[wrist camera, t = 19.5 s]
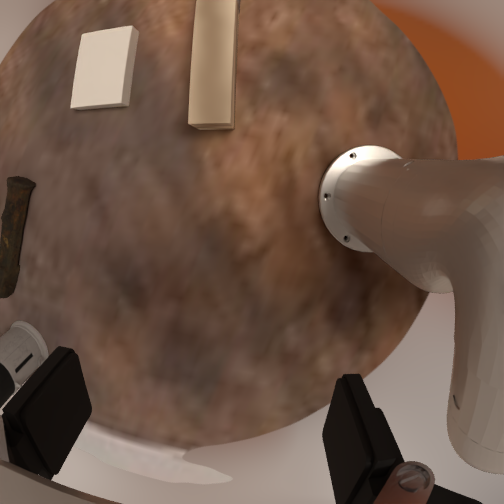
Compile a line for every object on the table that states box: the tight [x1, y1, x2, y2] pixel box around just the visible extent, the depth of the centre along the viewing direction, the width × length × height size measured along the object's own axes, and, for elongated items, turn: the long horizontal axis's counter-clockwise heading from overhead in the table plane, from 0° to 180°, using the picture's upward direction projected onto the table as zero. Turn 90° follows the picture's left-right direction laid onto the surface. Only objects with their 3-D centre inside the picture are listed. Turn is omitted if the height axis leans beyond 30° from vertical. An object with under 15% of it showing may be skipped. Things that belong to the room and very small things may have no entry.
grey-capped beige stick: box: [188, 0, 240, 130], centre depth 29 cm, size 4×18×6 cm, turn 178°
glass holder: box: [0, 321, 48, 408], centre depth 36 cm, size 9×14×15 cm, turn 75°
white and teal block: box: [71, 26, 139, 110], centre depth 31 cm, size 7×3×10 cm
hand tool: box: [0, 176, 35, 298], centre depth 36 cm, size 19×4×5 cm, turn 155°
